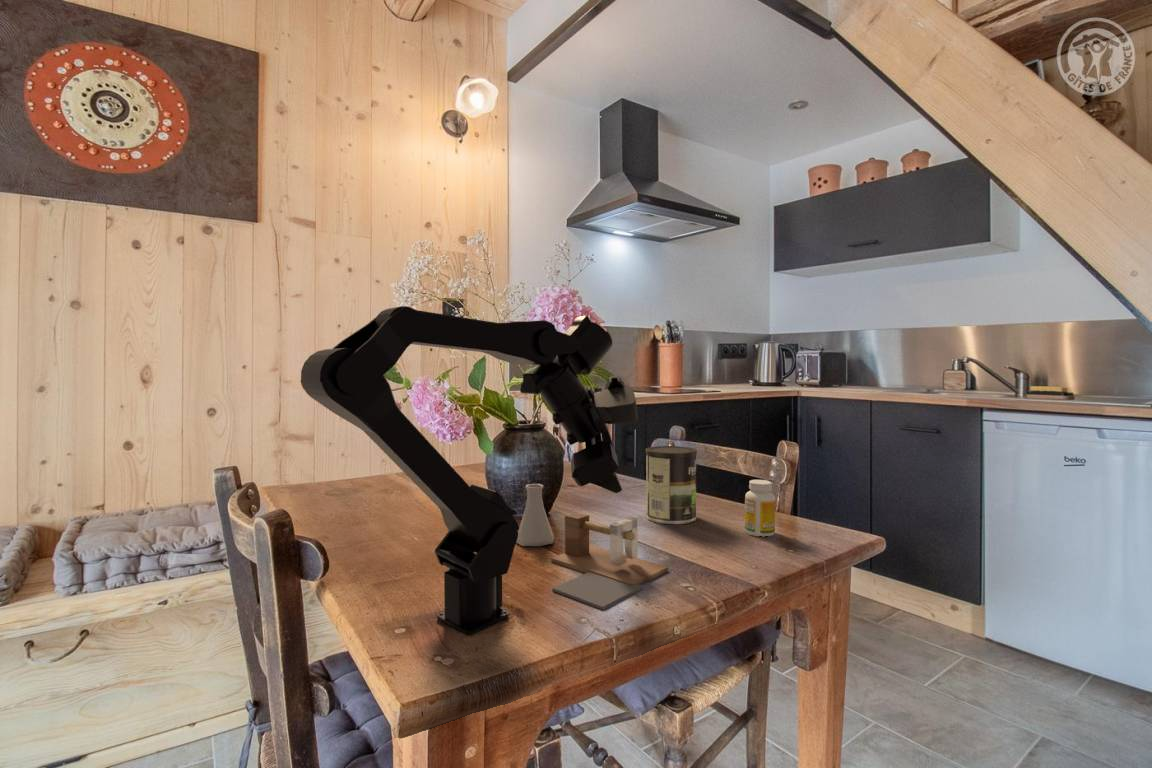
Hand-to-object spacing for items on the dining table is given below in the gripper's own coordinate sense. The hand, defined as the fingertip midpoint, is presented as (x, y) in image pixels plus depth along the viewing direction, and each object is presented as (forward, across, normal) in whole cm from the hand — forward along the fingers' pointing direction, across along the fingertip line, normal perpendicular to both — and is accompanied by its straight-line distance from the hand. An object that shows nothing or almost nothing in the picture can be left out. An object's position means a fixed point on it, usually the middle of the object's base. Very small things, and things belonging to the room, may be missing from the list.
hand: (615, 471), depth 85 cm
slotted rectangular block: (+10, -8, +4) cm, 13 cm away
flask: (+11, +4, +21) cm, 24 cm away
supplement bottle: (+32, +7, -15) cm, 36 cm away
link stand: (+11, -6, +8) cm, 15 cm away
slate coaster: (+6, -15, +8) cm, 18 cm away
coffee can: (+30, +16, 0) cm, 34 cm away
